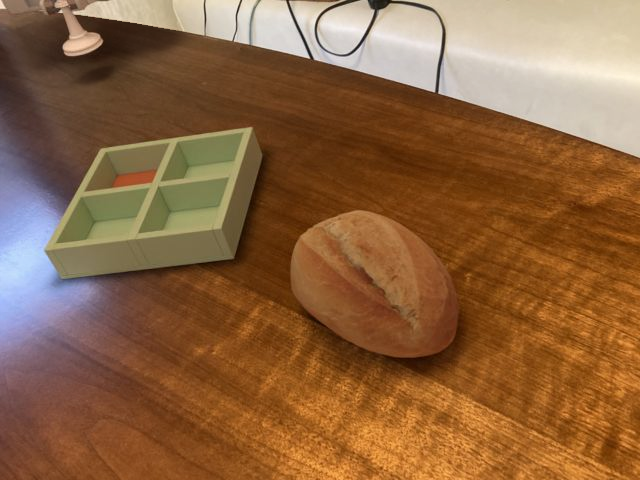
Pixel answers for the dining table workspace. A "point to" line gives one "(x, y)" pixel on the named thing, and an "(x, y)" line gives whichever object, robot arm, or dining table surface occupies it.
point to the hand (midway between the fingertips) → (61, 7)
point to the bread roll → (375, 285)
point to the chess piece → (77, 34)
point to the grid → (158, 205)
